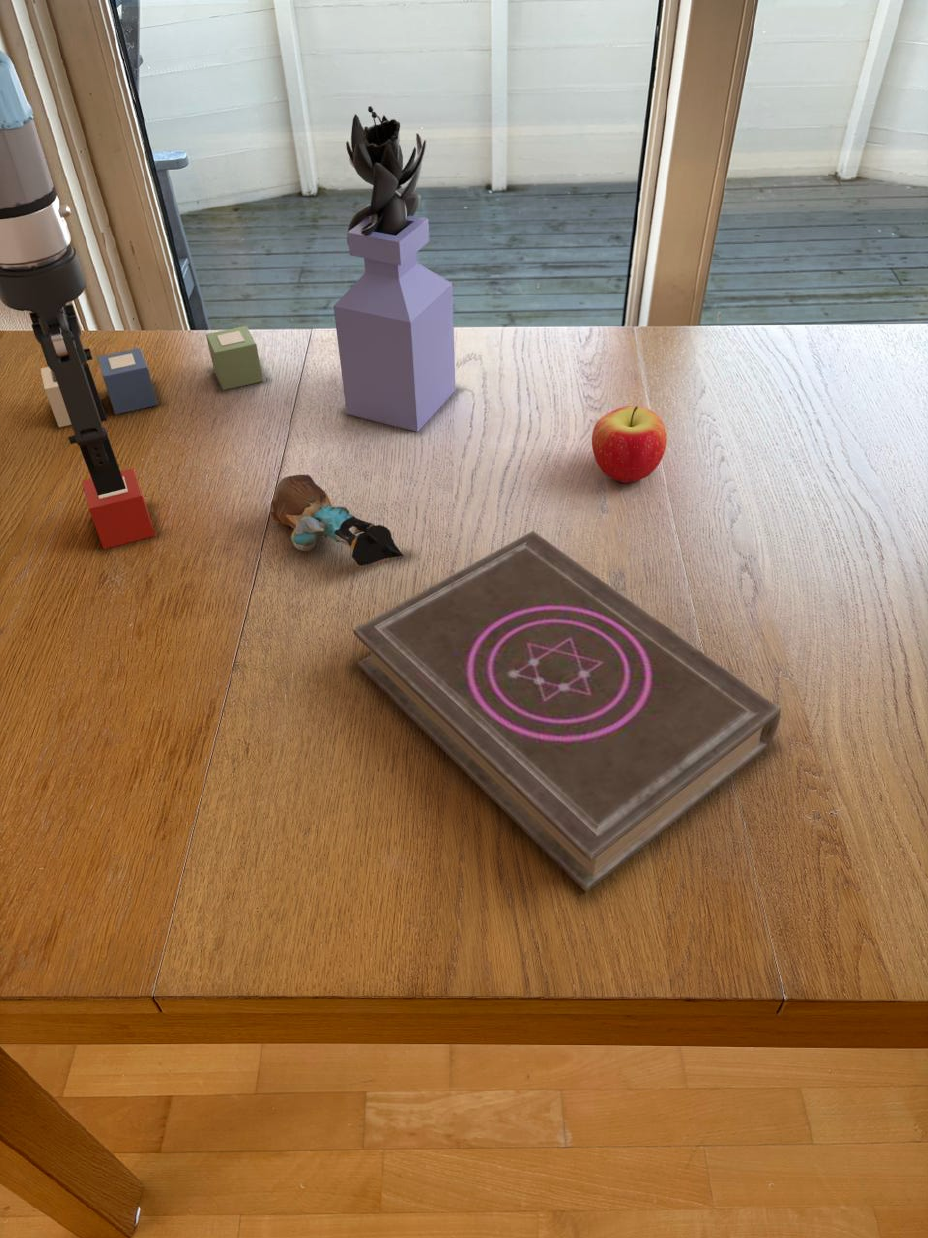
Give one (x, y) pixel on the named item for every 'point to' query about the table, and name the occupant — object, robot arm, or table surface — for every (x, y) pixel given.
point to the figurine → (327, 521)
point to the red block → (119, 512)
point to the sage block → (234, 357)
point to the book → (566, 702)
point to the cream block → (55, 397)
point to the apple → (629, 443)
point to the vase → (393, 293)
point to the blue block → (127, 380)
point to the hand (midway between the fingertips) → (102, 454)
